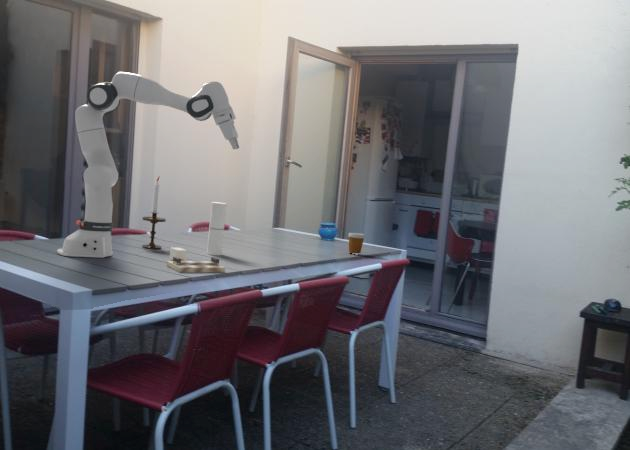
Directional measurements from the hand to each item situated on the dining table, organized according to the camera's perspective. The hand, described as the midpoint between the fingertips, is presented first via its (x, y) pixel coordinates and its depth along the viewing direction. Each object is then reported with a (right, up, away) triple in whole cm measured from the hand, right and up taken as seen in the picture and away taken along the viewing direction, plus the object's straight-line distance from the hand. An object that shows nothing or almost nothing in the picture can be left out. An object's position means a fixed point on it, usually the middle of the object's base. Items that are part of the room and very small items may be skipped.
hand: (236, 148), depth 282 cm
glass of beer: (+56, -50, +91) cm, 118 cm away
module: (-26, -49, +1) cm, 55 cm away
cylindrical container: (-15, -47, +36) cm, 61 cm away
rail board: (-16, -51, -10) cm, 54 cm away
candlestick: (-45, -44, +34) cm, 71 cm away
